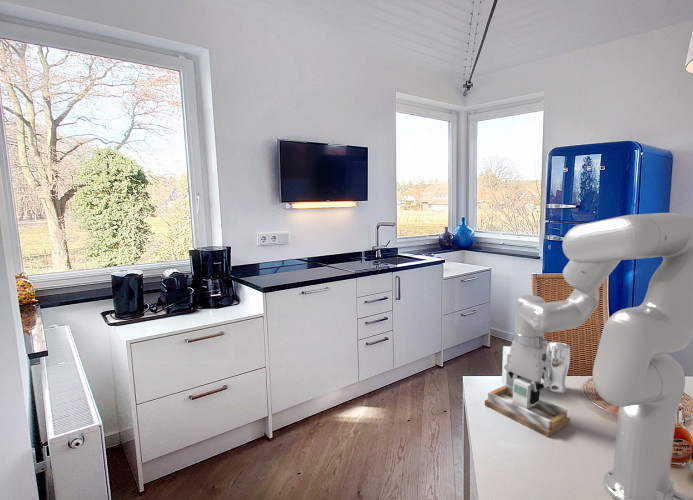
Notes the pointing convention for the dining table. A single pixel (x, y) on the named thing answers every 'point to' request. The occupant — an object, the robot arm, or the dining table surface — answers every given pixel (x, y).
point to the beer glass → (558, 365)
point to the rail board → (528, 412)
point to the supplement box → (505, 375)
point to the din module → (522, 392)
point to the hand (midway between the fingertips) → (525, 398)
